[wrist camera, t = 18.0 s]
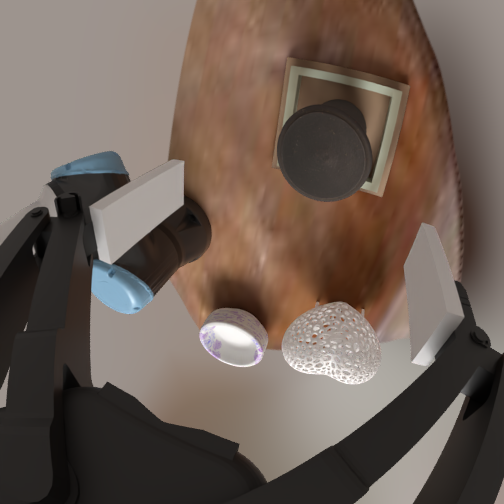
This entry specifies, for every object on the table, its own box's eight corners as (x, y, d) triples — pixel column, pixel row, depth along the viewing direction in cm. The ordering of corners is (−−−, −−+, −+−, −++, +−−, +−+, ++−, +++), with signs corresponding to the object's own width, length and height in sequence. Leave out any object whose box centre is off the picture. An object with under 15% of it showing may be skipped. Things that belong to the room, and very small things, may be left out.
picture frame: (274, 165, 48) (267, 172, 45) (289, 57, 38) (283, 55, 35) (381, 193, 44) (382, 203, 41) (408, 85, 34) (413, 85, 31)
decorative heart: (390, 298, 54) (390, 368, 40) (373, 334, 60) (366, 401, 46) (302, 275, 58) (279, 340, 44) (294, 313, 64) (270, 377, 50)
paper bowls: (282, 341, 70) (273, 367, 64) (231, 346, 78) (219, 368, 71) (254, 293, 65) (241, 318, 58) (201, 303, 72) (186, 325, 66)
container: (307, 150, 44) (270, 198, 28) (311, 93, 39) (274, 101, 23) (363, 160, 41) (364, 215, 25) (370, 102, 36) (379, 115, 20)
